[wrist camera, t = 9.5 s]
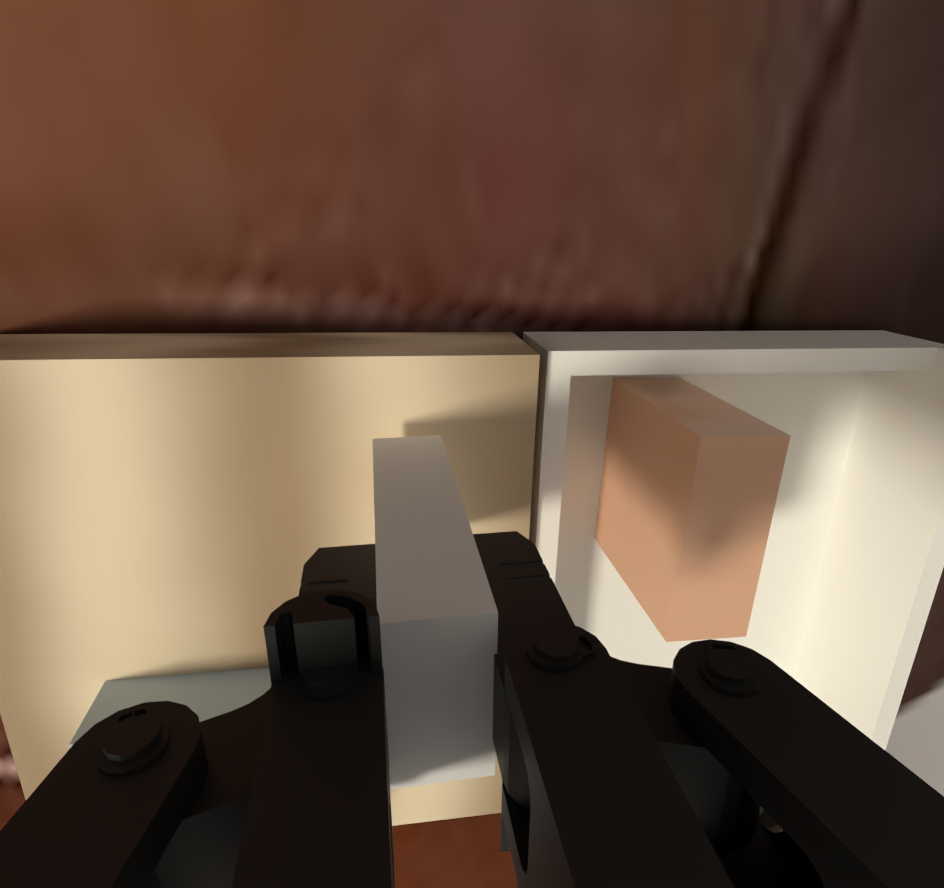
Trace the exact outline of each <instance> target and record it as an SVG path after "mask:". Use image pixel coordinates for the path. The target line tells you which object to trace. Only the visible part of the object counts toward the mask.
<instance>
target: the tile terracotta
mask: <svg viewBox="0 0 944 888" xmlns="http://www.w3.org/2000/svg"><path fill="white" fill-rule="evenodd" d="M789 441H790V435H788V434H787V433H785V432H783V431H781V430H779V429H777V428H775V427H773V426H771V425H769V424H767V423H766V422H764V421H762V420H760V419H758V418H756V417H754V416H752V415H750V414H748V413H747V412H745V411H743V410H741V409H739V408H737V407H735V406H733V405H731V404H729V403H728V402H726V401H724V400H722V399H720V398H718V397H716V396H714V395H712V394H710V393H708V392H707V391H705V390H703V389H701V388H699V387H697V386H695V385H693V384H691V383H689V382H688V381H686V380H684V379H682V378H613V381H612V390H611V399H610V407H609V416H608V424H607V433H606V441H605V450H604V459H603V467H602V476H601V484H600V493H599V501H598V510H597V519H596V527H595V536H594V538H595V540H596V541H597V543H598V544H599V546H600V547H601V549H602V550H603V551H604V553H605V554H606V556H607V557H608V559H609V560H610V562H611V563H612V564H613V566H614V567H615V569H616V570H617V572H618V573H619V575H620V576H621V578H622V579H623V580H624V582H625V583H626V585H627V586H628V588H629V589H630V591H631V592H632V593H633V595H634V596H635V598H636V599H637V601H638V602H639V604H640V605H641V606H642V608H643V609H644V611H645V612H646V614H647V615H648V617H649V618H650V619H651V621H652V622H653V624H654V625H655V627H656V628H657V630H658V631H659V632H660V634H661V635H662V637H663V638H664V640H665V641H666V642H674V641H688V640H703V639H718V638H732V637H746V635H747V630H748V626H749V621H750V617H751V612H752V608H753V603H754V599H755V594H756V590H757V585H758V581H759V576H760V572H761V567H762V563H763V558H764V554H765V549H766V545H767V540H768V536H769V531H770V526H771V522H772V517H773V513H774V508H775V504H776V499H777V495H778V490H779V486H780V481H781V477H782V472H783V468H784V463H785V459H786V454H787V450H788V445H789Z"/></svg>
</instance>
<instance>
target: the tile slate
mask: <svg viewBox="0 0 944 888" xmlns="http://www.w3.org/2000/svg"><path fill="white" fill-rule="evenodd" d="M270 688H271V678H270V670H269V668H256V669H244V670H231V671H219V672H207V673H194V674H182V675H170V676H157V677H145V678H133V679H120V680H108V681H105V682H104V684H103V686H102V688H101V689H100V691H99V693H98V695H97V696H96V698H95V700H94V702H93V703H92V705H91V707H90V709H89V710H88V712H87V714H86V716H85V717H84V719H83V721H82V723H81V724H80V726H79V728H78V730H77V731H76V733H75V735H74V737H73V738H72V740H71V742H70V744H69V746H70V748H71V747H72V745H73V744H74V743H75V742H76V741H77V740H78V739H79V738H80V737H82V736H83V735H84V734H85V733H86V732H87V731H88V730H89V729H90V728H91V727H92V726H94V725H95V724H96V723H98V722H100V721H102V720H103V719H105V718H107V717H109V716H110V715H112V714H114V713H116V712H117V711H119V710H122V709H126V708H129V707H132V706H135V705H138V704H141V703H144V702H156V701H171V702H175V703H179V704H184V705H187V706H188V707H189V708H190V709H191V710H192V711H193V712H195V713H196V714H197V715H198V717H199V722H201V721H204V720H207V719H210V718H213V717H216V716H219V715H222V714H225V713H227V712H230V711H233V710H235V709H237V708H240V707H242V706H244V705H247V704H249V703H250V702H252V701H254V700H255V699H257V698H258V697H260V696H262V695H263V694H264V693H265V692H267V691H268V690H269V689H270Z"/></svg>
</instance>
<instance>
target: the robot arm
mask: <svg viewBox="0 0 944 888" xmlns="http://www.w3.org/2000/svg"><path fill="white" fill-rule="evenodd" d="M373 477H374V516H375V544H364V545H351V546H338V547H324V548H318V549H317V551H316V552H315V553H314V554H313V555H312V556H311V557H310V558H309V559H308V561H307V562H306V563H305V564H304V567H303V573H302V578H301V587H300V590H299V596H297V597H295V598H292V599H290V600H288V601H285V602H284V603H283V604H282V605H280V606H279V607H278V608H277V609H275V610H274V611H273V612H272V613H271V614H270V616H269V617H268V619H267V621H266V623H265V625H264V626H263V628H264V635H265V642H266V649H267V656H268V663H269V670H270V678H271V688H270V689H269V690H268V691H267V692H265V693H264V694H263V695H262V696H260V697H258V698H257V699H255V700H254V701H252V702H250V703H249V704H247V705H244V706H242V707H240V708H237V709H235V710H233V711H230V712H227V713H225V714H222V715H219V716H216V717H213V718H210V719H207V720H204V721H201V722H199V717H198V715H197V714H196V713H195V712H193V711H192V710H191V709H190V708H189V707H188V706H187V705H184V704H179V703H175V702H171V701H156V702H144V703H141V704H138V705H135V706H132V707H129V708H126V709H122V710H119V711H117V712H116V713H114V714H112V715H110V716H109V717H107V718H105V719H103V720H102V721H100V722H98V723H96V724H95V725H94V726H92V727H91V728H90V729H89V730H88V731H87V732H86V733H85V734H84V735H83V736H82V737H80V738H79V739H78V740H77V741H76V742H75V743H74V744H73V745H72V747H71V748H70V749H69V750H68V751H67V753H66V754H65V755H64V756H63V757H62V759H61V760H60V761H59V762H58V763H57V764H56V766H55V767H54V768H53V769H52V770H51V772H50V773H49V774H48V775H47V776H46V778H45V779H44V780H43V781H42V782H41V783H40V785H39V786H38V787H37V788H36V789H35V791H34V792H33V793H32V794H31V795H30V797H29V798H28V799H27V800H26V801H25V802H24V804H23V805H22V806H21V807H20V808H19V810H18V811H17V812H16V813H15V814H14V816H13V817H12V818H11V819H10V820H9V821H8V823H7V824H6V825H5V826H4V827H3V829H2V830H1V831H0V888H395V879H394V856H393V834H392V815H391V799H390V789H396V788H404V787H411V786H419V785H426V784H434V783H441V782H449V781H456V780H464V779H471V778H479V777H486V776H494V775H495V751H496V755H497V760H498V764H499V768H500V772H501V777H502V804H501V852H504V851H509V846H510V850H511V855H512V860H513V864H514V869H515V873H516V878H517V882H518V887H519V888H944V797H943V796H942V795H941V794H940V793H938V792H937V791H936V790H934V789H933V788H932V787H931V786H929V785H928V784H927V783H926V782H924V781H923V780H922V779H920V778H919V777H918V776H917V775H916V774H914V773H913V772H911V771H910V770H909V769H908V768H907V767H905V766H904V765H903V764H902V763H900V762H899V761H898V760H896V759H895V758H894V757H893V756H891V755H890V754H889V753H887V752H886V751H885V750H884V749H883V748H881V747H880V746H879V745H877V744H876V743H875V742H874V741H872V740H871V739H870V738H869V737H867V736H866V735H865V734H863V733H862V732H861V731H860V730H858V729H857V728H856V727H855V726H853V725H852V724H851V723H850V722H848V721H847V720H846V719H844V718H843V717H842V716H841V715H839V714H838V713H837V712H836V711H834V710H833V709H832V708H830V707H829V706H828V705H827V704H825V703H824V702H823V701H822V700H820V699H819V698H818V697H817V696H815V695H814V694H813V693H811V692H810V691H809V690H808V689H806V688H805V687H804V686H803V685H801V684H800V683H799V682H797V681H796V680H795V679H794V678H792V677H791V676H790V675H789V674H787V673H786V672H785V671H784V670H782V669H781V668H780V667H778V666H777V665H776V664H775V663H773V662H772V661H771V660H769V659H768V658H766V657H764V656H763V655H761V654H759V653H758V652H756V651H754V650H753V649H750V648H748V647H745V646H742V645H739V644H736V643H733V642H729V641H720V640H712V639H709V640H702V641H694V642H691V643H689V644H688V645H686V646H684V647H682V648H680V649H679V651H678V653H677V655H676V656H675V658H674V660H673V667H672V668H667V667H659V666H651V665H643V664H636V663H631V662H626V661H622V660H619V659H616V658H613V657H611V656H610V655H609V653H608V651H607V649H606V648H605V646H604V645H603V644H602V643H601V642H600V641H599V639H598V638H597V637H596V636H595V635H593V634H591V633H590V632H588V631H586V630H584V629H583V628H581V627H578V626H575V624H574V622H573V620H572V618H571V616H570V614H569V612H568V610H567V608H566V606H565V604H564V602H563V600H562V598H561V596H560V594H559V592H558V590H557V588H556V586H555V584H554V582H553V580H552V578H550V574H549V572H548V570H547V568H546V566H545V564H543V560H542V558H541V556H540V554H539V552H538V550H537V548H536V546H535V544H534V543H532V542H531V541H530V540H528V539H527V538H526V537H524V536H523V535H521V534H520V533H519V532H517V531H509V532H496V533H482V534H473V533H472V530H471V527H470V524H469V521H468V518H467V515H466V512H465V508H464V505H463V502H462V499H461V496H460V493H459V490H458V487H457V484H456V481H455V478H454V474H453V471H452V468H451V465H450V462H449V459H448V456H447V453H446V450H445V447H444V444H443V441H442V437H441V435H435V436H415V437H396V438H377V439H373Z"/></svg>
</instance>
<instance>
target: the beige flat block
mask: <svg viewBox="0 0 944 888" xmlns="http://www.w3.org/2000/svg"><path fill="white" fill-rule="evenodd" d="M539 361H540V355H539V354H538V353H537V352H536V351H535V350H533V349H532V348H531V347H530V346H529V345H527V344H526V343H525V342H524V341H523V340H521V339H520V338H519V337H518V336H517V335H515V334H514V333H513V332H378V333H150V334H0V714H1V717H2V721H3V724H4V728H5V731H6V734H7V738H8V741H9V745H10V748H11V751H12V755H13V758H14V762H15V765H16V768H17V772H18V775H19V778H20V782H21V785H22V789H23V792H24V795H25V799H26V800H27V799H28V798H29V797H30V795H31V794H32V793H33V792H34V791H35V789H36V788H37V787H38V786H39V785H40V783H41V782H42V781H43V780H44V779H45V778H46V776H47V775H48V774H49V773H50V772H51V770H52V769H53V768H54V767H55V766H56V764H57V763H58V762H59V761H60V760H61V759H62V757H63V756H64V755H65V754H66V753H67V751H68V750H69V749H70V746H69V744H70V742H71V740H72V738H73V737H74V735H75V733H76V731H77V730H78V728H79V726H80V724H81V723H82V721H83V719H84V717H85V716H86V714H87V712H88V710H89V709H90V707H91V705H92V703H93V702H94V700H95V698H96V696H97V695H98V693H99V691H100V689H101V688H102V686H103V684H104V682H105V681H108V680H120V679H133V678H145V677H157V676H170V675H182V674H194V673H207V672H219V671H231V670H244V669H256V668H269V663H268V656H267V649H266V642H265V635H264V628H263V626H264V625H265V623H266V621H267V619H268V617H269V616H270V614H271V613H272V612H273V611H274V610H275V609H277V608H278V607H279V606H280V605H282V604H283V603H284V602H285V601H288V600H290V599H292V598H295V597H297V596H299V590H300V587H301V578H302V573H303V567H304V564H305V563H306V562H307V561H308V559H309V558H310V557H311V556H312V555H313V554H314V553H315V552H316V551H317V549H318V548H324V547H338V546H351V545H364V544H375V516H374V477H373V439H377V438H396V437H415V436H435V435H441V437H442V441H443V444H444V447H445V450H446V453H447V456H448V459H449V462H450V465H451V468H452V471H453V474H454V478H455V481H456V484H457V487H458V490H459V493H460V496H461V499H462V502H463V505H464V508H465V512H466V515H467V518H468V521H469V524H470V527H471V530H472V533H473V534H482V533H496V532H509V531H517V532H519V533H520V534H521V535H523V536H524V537H526V538H527V539H528V540H529V529H530V513H531V496H532V479H533V462H534V445H535V428H536V411H537V394H538V377H539ZM390 799H391V815H392V826H394V825H402V824H411V823H419V822H427V821H435V820H444V819H452V818H460V817H469V816H477V815H485V814H494V813H501V804H502V777H501V772H500V768H499V764H498V760H497V755H496V751H495V775H494V776H486V777H479V778H471V779H464V780H456V781H449V782H441V783H434V784H426V785H419V786H411V787H404V788H396V789H390Z"/></svg>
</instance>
